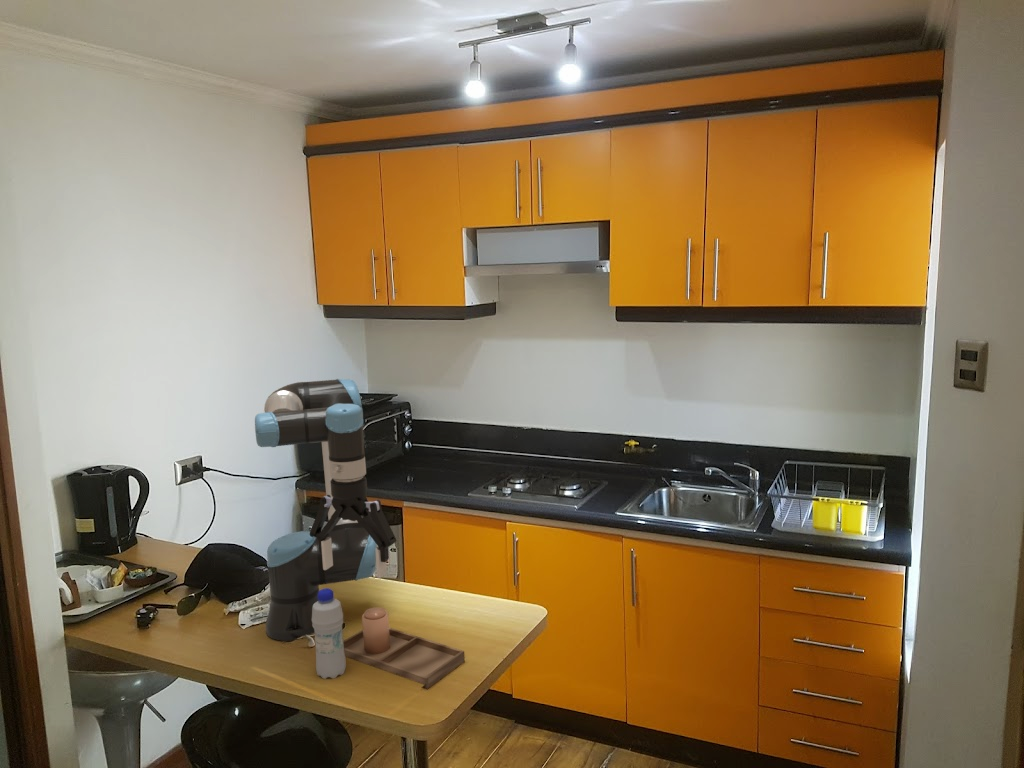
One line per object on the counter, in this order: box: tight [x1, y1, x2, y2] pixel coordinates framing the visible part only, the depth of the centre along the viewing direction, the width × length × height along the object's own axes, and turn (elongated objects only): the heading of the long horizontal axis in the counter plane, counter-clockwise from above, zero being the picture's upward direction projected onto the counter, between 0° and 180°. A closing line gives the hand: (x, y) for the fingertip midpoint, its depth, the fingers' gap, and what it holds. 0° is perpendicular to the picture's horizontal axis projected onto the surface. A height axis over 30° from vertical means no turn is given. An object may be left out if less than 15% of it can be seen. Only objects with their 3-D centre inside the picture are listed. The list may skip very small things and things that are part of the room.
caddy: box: [343, 627, 466, 690], centre depth 173 cm, size 28×13×2 cm, turn 56°
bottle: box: [312, 587, 347, 680], centre depth 165 cm, size 7×7×20 cm
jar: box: [361, 606, 390, 654], centre depth 176 cm, size 6×6×9 cm
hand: (354, 571), depth 165 cm, fingers open, 13 cm apart
